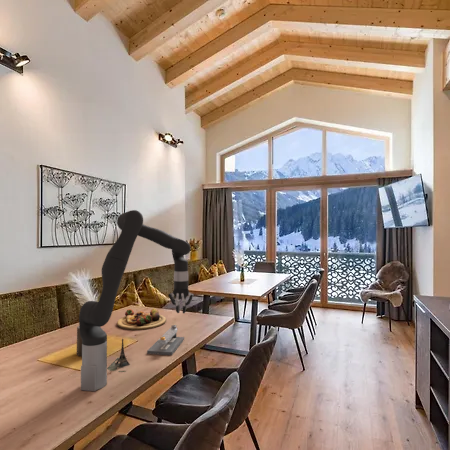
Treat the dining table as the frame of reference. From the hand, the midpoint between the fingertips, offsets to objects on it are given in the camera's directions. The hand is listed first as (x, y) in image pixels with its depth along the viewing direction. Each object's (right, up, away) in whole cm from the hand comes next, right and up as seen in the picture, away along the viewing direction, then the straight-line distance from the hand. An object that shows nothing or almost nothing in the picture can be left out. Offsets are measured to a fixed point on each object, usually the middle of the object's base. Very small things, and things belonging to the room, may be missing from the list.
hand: (181, 312), depth 161 cm
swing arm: (-7, -18, +4) cm, 19 cm away
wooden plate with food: (-33, -21, +47) cm, 61 cm away
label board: (-8, -19, +4) cm, 21 cm away
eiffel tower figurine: (-25, -20, -18) cm, 36 cm away
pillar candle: (-47, -19, -4) cm, 51 cm away
